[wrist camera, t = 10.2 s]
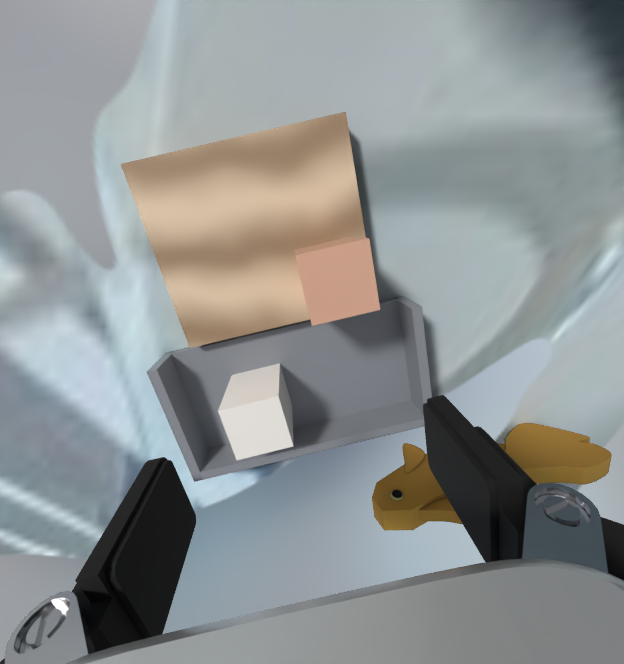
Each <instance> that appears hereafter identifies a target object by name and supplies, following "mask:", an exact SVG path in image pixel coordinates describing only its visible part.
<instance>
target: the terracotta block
mask: <svg viewBox="0 0 624 664" xmlns="http://www.w3.org/2000/svg"><path fill="white" fill-rule="evenodd" d="M293 251H294V256H295V260H296V264H297V268H298V273H299V277H300V281H301V285H302V290H303V294H304V298H305V302H306V306H307V310H308V314H309V317H310V321H311V324H312V326H314V325H318V324H323V323H327V322H331V321H335V320H339V319H344V318H348V317H352V316H356V315H360V314H365V313H369V312H373V311H377V310H380V304H379V297H378V291H377V285H376V278H375V272H374V266H373V259H372V253H371V247H370V240H369V238H360V237H347V238H343V239H339V240H335V241H330V242H326V243H322V244H318V245H313V246H309V247H305V248H301V249H296V250H293Z"/></svg>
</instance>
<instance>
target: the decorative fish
mask: <svg viewBox="0 0 624 664" xmlns="http://www.w3.org/2000/svg"><path fill="white" fill-rule="evenodd" d="M589 440H590V437H588V436H584V435H581V434H577V433H574V432H570V431H566V430H561V429H557V428H553V427H548V426H544V425H538V424H533V423H523V424H519V425H517V426H516V427H515V428H514V429H513V430H512V431H511V432H510V433H509V435H508V436H507V438H506V442H505V444H498V445H499V446H500V447H501V448H502V449H503V450H504V451H505V452H506V453H507V454H508V455H509V456H510V457H511V458H512V459H513V460H514V461H515V462H516V463H517V464H518V465H519V466H520V467H521V468H522V469H523V470H524V471H525V472H526V474H527V475H528V476H529V477H530V478H531V479H532V480H533V481H534V482H535V483H536V484H541V483H573V484H588V483H592V482H595V481H597V480H599V479H601V478H602V477H604V476H605V475H606V474H607V473H608V471H609V466H610V461H611V453H610V452H609V451H608V450H606V449H605V448H602V447H600V446H598V445H596V444H592V443H589ZM403 455H404V460H405V464H404V465H403V466H401V467H400V468H398V469H397V470H395V471H394V472H392V473H391V474H389V475H388V476H386V477H385V478H383V479H382V480H380V481H379V482H377V483H376V486H375V490H374V493H373V496H372V502H373V509H374V517H375V518H376V520H377V521H378V522H379V524H380V525H381V526H382V528H383V529H384V530H414V529H415V528H417V527H419V526H420V525H422V524H424V523H426V522H427V521H446V522H454V523H459V524H462V522H461V520H460V519H459V517H458V515H457V514H456V512H455V510H454V509H453V507H452V505H451V504H450V502H449V500H448V499H447V497H446V495H445V493H444V492H443V490H442V488H441V487H440V485H439V483H438V482H437V480H436V478H435V477H434V475H433V473H432V472H431V469H430V467H429V463H428V456H427V454H425V453H424V451H423V450H422V449H420V448H418V447H416V446H414V445H411V444H407V443H404V444H403Z"/></svg>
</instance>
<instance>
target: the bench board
mask: <svg viewBox="0 0 624 664" xmlns="http://www.w3.org/2000/svg"><path fill="white" fill-rule="evenodd" d="M121 166H122V169H123V171H124V174H125V177H126V179H127V182H128V185H129V187H130V190H131V193H132V195H133V198H134V201H135V203H136V206H137V209H138V211H139V214H140V217H141V219H142V222H143V225H144V227H145V230H146V233H147V235H148V238H149V241H150V243H151V246H152V249H153V251H154V254H155V257H156V259H157V262H158V265H159V267H160V270H161V273H162V275H163V278H164V281H165V283H166V286H167V289H168V291H169V294H170V297H171V299H172V302H173V305H174V307H175V310H176V313H177V315H178V318H179V321H180V323H181V326H182V329H183V331H184V334H185V337H186V339H187V342H188V345H189V347H190V348H192V347H196V346H201V345H205V344H209V343H213V342H217V341H222V340H226V339H230V338H234V337H238V336H243V335H247V334H251V333H255V332H259V331H264V330H268V329H272V328H276V327H280V326H285V325H289V324H293V323H297V322H302V321H306V320H310V317H309V314H308V310H307V306H306V302H305V298H304V294H303V290H302V285H301V281H300V277H299V273H298V268H297V264H296V260H295V256H294V251H293V250H296V249H301V248H305V247H309V246H313V245H318V244H322V243H326V242H330V241H335V240H339V239H343V238H347V237H360V238H366V236H365V230H364V223H363V217H362V211H361V205H360V198H359V192H358V186H357V180H356V173H355V167H354V161H353V155H352V149H351V142H350V136H349V130H348V124H347V117H346V112H343V113H338V114H334V115H330V116H325V117H321V118H317V119H313V120H308V121H304V122H300V123H295V124H291V125H287V126H282V127H278V128H274V129H270V130H265V131H261V132H257V133H252V134H248V135H244V136H239V137H235V138H231V139H227V140H222V141H218V142H214V143H209V144H205V145H201V146H197V147H192V148H188V149H184V150H179V151H175V152H171V153H166V154H162V155H158V156H154V157H149V158H145V159H141V160H136V161H132V162H128V163H123V164H121Z"/></svg>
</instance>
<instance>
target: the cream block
mask: <svg viewBox="0 0 624 664" xmlns="http://www.w3.org/2000/svg"><path fill="white" fill-rule="evenodd" d="M218 413H219V415H220V418H221V420H222V423H223V426H224V428H225V431H226V434H227V436H228V439H229V442H230V444H231V447H232V450H233V452H234V455H235V457H236V460H240V459H244V458H249V457H253V456H257V455H261V454H265V453H269V452H273V451H277V450H281V449H285V448H289V447H293V418H292V403H291V400H290V396H289V393H288V389H287V386H286V383H285V379H284V376H283V372H282V369H281V365H280V363H279V364H275V365H271V366H267V367H263V368H259V369H255V370H250V371H246V372H242V373H238V374H234V375H232V376H231V378H230V381H229V384H228V386H227V389H226V391H225V394H224V397H223V399H222V402H221V404H220V407H219V410H218Z"/></svg>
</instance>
